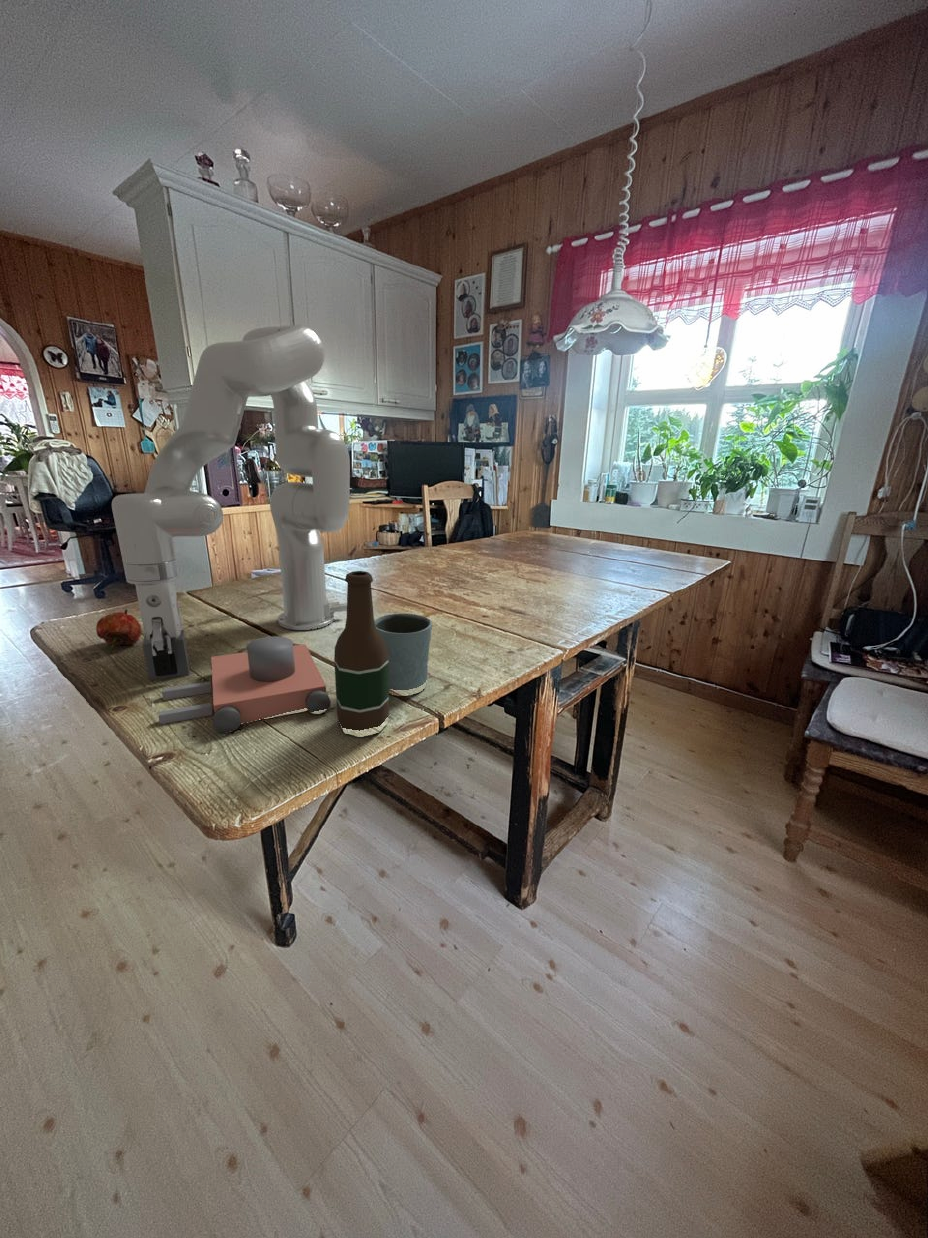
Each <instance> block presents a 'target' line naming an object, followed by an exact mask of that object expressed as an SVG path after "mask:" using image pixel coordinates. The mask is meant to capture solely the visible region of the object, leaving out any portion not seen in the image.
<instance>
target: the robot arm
mask: <svg viewBox="0 0 928 1238" xmlns="http://www.w3.org/2000/svg"><path fill="white" fill-rule="evenodd" d="M324 361H325V349H324V345H323V342H322V340H321V338H320V336H319V335H318V334H317V333H316V332H315V331H314V330H313V329H311V328H310V327H308V326H306V325H303V324H290V325H289V324H288V325H278V326H277V325H273V326H266V327H265V326H264V327H258V328H254V329H252V330H249V331H247V332H246V333H245V334H244V335H243V338H242V339H241V340H236V341H224V342H217V343H211V344H210V345H208V346H207V347H205V349H204V350H203V351H202V353H201V355H200V357H199V361H198V364H197V368H196V371H195V375H194V377H193V378H194V379H193V382H192V386H191V389H190V393H189V397H188V399H187V404H186V407H185V410H184V411H185V412H184V415H183V419H182V421H181V423H180V425H179V427H178V428H177V429H176V430H175V431H174V433H173V434H172V435H171V436H170V437H169V439H168V440H167V442H166V443H165V445H163V447H161V450H160V451H159V453H158V454H157V456H156V457H155V459H154V460H153V462H152V465H151V468H150V471H149V474H148V479H147V481H146V485H145V489H144V493H125V494H120V495H116V496H115V497H113V499H112V501H111V509H112V514H113V516H112V517H113V519H114V525H115V530H116V535H117V538H118V539H117V541H118V545H119V549H120V554H121V559H122V565H123V569H124V575H125V580H126V583H128V584H131V585H135V589H136V590H135V591H136V596H137V601H138V606H139V612H140V616H141V622H142V626H143V630H144V636H145V635H146V638H147V640H149V641H151V643H152V658H153V663H154V669H155V674H156V676H158V677H159V676H166V675H173V674H177V672H178V670H177V664H176V658H175V653H174V652H172V644H171V638H172V637H176V638H178V637H179V636H180V634H181V630H182V625H183V624H182V622H183V621H182V616H181V611H180V607H179V602H178V596H177V591H176V590H177V589H176V587H175V582H174V581H175V580H177V579H179V578H180V575H179V568H178V563H177V557H176V550H175V545H174V538H175V537H176V538H177V537H205V536H209V535H211V534H213V533H215V532H216V531H217V530H218V529H219V528H220V527H221V525H222V524H223V521H224V513H223V509H222V506H221V504H220V503H219V502H218V501H217V500H216V498H213V497H212V496H210V495H208V494H206V493H204V492H200V491H193V490H191V488H192V486H193V482H194V480H195V478H196V477H197V475H198V474H199V472H200V471H201V469H203V468H204V466H205V465H207V464H208V463H210V462H211V461H213V460H215V459H216V458H218V457H219V456H222V455H224V453H226V452H227V451H229V450H230V449H231V448H233V447H234V446H235V444H236V441H237V438H238V435H239V430H240V427H241V423H242V419H243V416H244V412H245V409H246V405H247V403H248V402H247V401H248V398H249V397H254V398H255V397H260V398H261V397H269V396H270V397H271V400H272V404H273V411H274V412H273V413H274V438H275V439H274V443H275V445H274V446H275V459H276V463H277V465H278V467H279V468H280V470H282V471H283V472H285V473H286V474H289V475H293V476H297V477H299V476H300V477H306V478H307V477H308V478H312V483H308V482H297V481H290V482H284V483H281V484H280V485H278V486H277V487H275V488H274V489H273V490H272V491H273V492H272V493H271V496H270V499H269V507H270V508H269V509H270V513H271V517H272V521H273V523H274V527H275V531H276V535H277V536H276V537H277V543H278V554H279V564H280V565H279V566H280V577H281V578H280V579H281V587H282V599H283V613H281V614H280V615H279V616H277V623H278V625H279V626H280V627H281V628H285V629H287V630H293V631H310V630H311V629H312V630H317V628H318V629H321V627H322V628H325V627H327V626H329V625H331V624H333V622H334V621H335V615H334V614H335V613H336V612H337V613H338V612H340V613H341V612H342V613H343V612H347V602H346V603H340V602H339V601H334V602H329V601H328V599H327V588H326V573H325V572H326V571H325V570H326V569H325V568H326V567H325V550H324V543H323V540H322V537H321V534H320V532H322V533H335V532H339V531H340V530H341V529H342V528H344V526H345V524H346V523H347V520H348V519H349V518H348V517H349V512H350V496H351V495H350V494H351V493H350V489H351V487H350V486H351V484H350V482H351V481H350V480H351V471H350V470H351V459H350V453H349V449H348V447H347V445H346V442H345V440H344V439H343V438H342V437H341V435H339V433H337V432H335V431H332V430H330V429H325V428H324V429H322V428H320V429H319V418H318V403H317V400H316V397H315V394H314V391H313V390H312V388H311V386H310V384H309V383H308V381H307V380H309V379H312V378H314V377H315V376H316V375H317V374H318V373H319V372H320V370H321V369H322V367H323V365H324ZM333 620H334V621H333ZM330 623H331V624H330ZM328 624H329V625H328ZM324 626H325V627H324ZM163 634H167V635H165V636H163ZM164 641H167V644H166V642H165V643H164Z"/></svg>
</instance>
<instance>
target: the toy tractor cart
mask: <svg viewBox="0 0 928 1238" xmlns="http://www.w3.org/2000/svg"><path fill="white" fill-rule="evenodd" d="M293 642H294V641H293V640H292V639H291V638H288V637H285V636H277V635H276V636H266V637H260V638H257V639H254V640H252V641H250V642H249V643H248V644H247V645H246V652H244V651H243V652H238V653H228V654H226V653H220V654H216V655H215V656H211V657H210V658H211V661H210V669H211V677H212V678H211V679H212V681H210V680H209V681H204V682H198V683H197V682H196V683H190V684H183V685H178V686H172V687H164V688H162V689H161V695H162V699H163V701H167V700H173V699H178V698H179V699H180V698H185V697H190V696H198V695H205V694H209V693H212V699H213V700H212V701H213V703H212V702H208V703H203V704H196V705H191V706H184V707H178V708H173V709H167V710H161V711H158V715H157V716H158V721H159V725H165V724H169V723H170V724H171V723H176V722H181V721H186V720H187V721H188V720H193V719H197V718H202V717H208V716H212V720H213V721H212V722H213V727H214V729H215V730H216V731H217V732H219V733H222V734H226V733H225V732H230V731H233V730H235V731H236V730H237V729H238V728H239V727H240V724H241V723H247V722H251V721H255V720H259V719H264V718H267V717H272V716H275V715H279V714H283V713H286V712H291V711H295V710H300V709H304V708H307V709H308V711H309V713H310V712H314V711H319V710H324V709H328V708H329V709H330V707H331V705H332V702H331V698H330V697H329V695H328V693H327V685H326V683H325V682H324V679H323V677H322V675H321V673H320V671H319V668H318V667H317V664H316V663H315V661H314V659H313V657H312V654H311V653H310V651H309V649H308V647H307V643H304V644H299V643H293ZM211 682H212V683H211ZM212 704H213V706H212ZM329 709H328V710H329ZM213 710H214V711H213ZM213 712H214V713H213ZM247 724H248V723H247ZM233 732H234V731H233ZM230 733H231V732H230Z"/></svg>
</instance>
